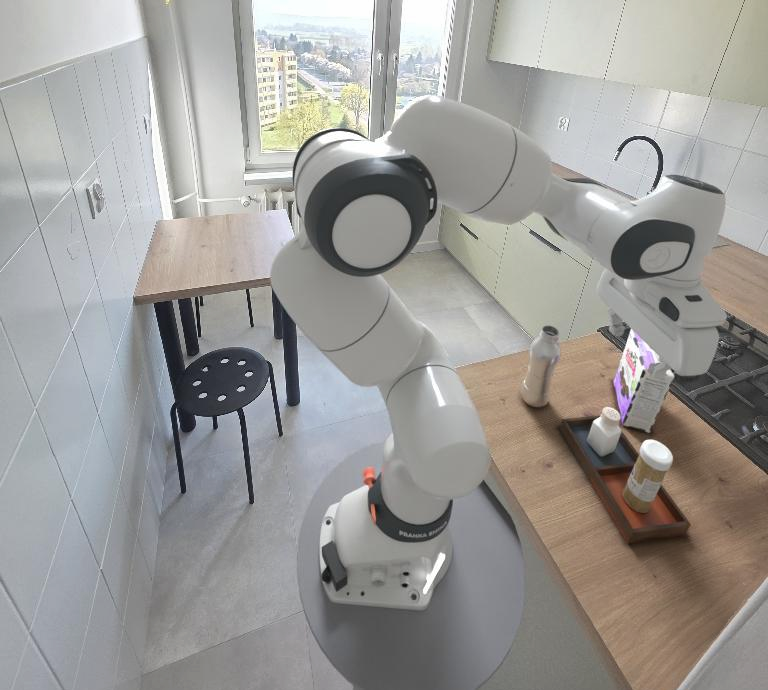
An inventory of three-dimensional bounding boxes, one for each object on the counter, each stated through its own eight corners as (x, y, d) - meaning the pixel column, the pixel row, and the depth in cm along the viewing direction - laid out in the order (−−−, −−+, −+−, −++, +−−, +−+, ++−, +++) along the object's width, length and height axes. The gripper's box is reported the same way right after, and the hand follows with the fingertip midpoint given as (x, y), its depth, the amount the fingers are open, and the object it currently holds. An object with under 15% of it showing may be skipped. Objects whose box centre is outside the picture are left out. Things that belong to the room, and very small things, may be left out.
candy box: (612, 380, 103) (630, 326, 97) (638, 387, 102) (659, 333, 95) (621, 425, 91) (642, 368, 85) (651, 434, 90) (675, 376, 83)
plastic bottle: (513, 398, 97) (528, 329, 89) (528, 383, 101) (544, 317, 93) (538, 416, 93) (557, 346, 85) (553, 400, 97) (572, 331, 89)
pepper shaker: (615, 452, 84) (628, 418, 80) (600, 458, 83) (612, 424, 79) (599, 435, 88) (610, 402, 84) (584, 441, 86) (596, 408, 82)
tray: (627, 543, 70) (632, 533, 69) (559, 428, 90) (562, 419, 89) (685, 535, 72) (691, 524, 70) (605, 424, 91) (609, 414, 90)
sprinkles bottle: (619, 485, 78) (639, 435, 73) (646, 492, 77) (668, 442, 72) (624, 509, 74) (646, 458, 69) (653, 518, 73) (677, 467, 68)
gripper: (598, 248, 71) (579, 314, 77) (695, 326, 53) (662, 406, 58) (631, 246, 72) (611, 312, 77) (739, 323, 53) (702, 402, 59)
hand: (633, 353), depth 68 cm, fingers open, 8 cm apart
